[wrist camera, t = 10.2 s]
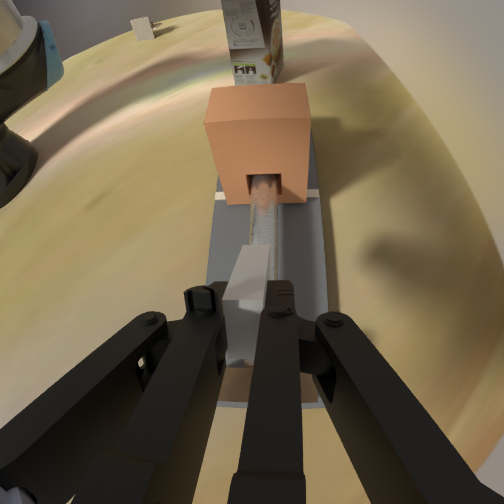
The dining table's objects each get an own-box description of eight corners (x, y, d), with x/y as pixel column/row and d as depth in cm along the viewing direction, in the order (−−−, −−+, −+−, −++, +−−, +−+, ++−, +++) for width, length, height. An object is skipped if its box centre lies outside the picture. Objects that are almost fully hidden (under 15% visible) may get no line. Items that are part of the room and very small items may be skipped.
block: (306, 202, 31) (310, 117, 21) (227, 204, 32) (203, 122, 22) (303, 166, 33) (304, 83, 23) (231, 168, 34) (212, 88, 24)
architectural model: (143, 37, 64) (136, 15, 58) (165, 34, 63) (158, 11, 56) (137, 42, 63) (129, 20, 56) (159, 39, 61) (151, 16, 55)
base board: (327, 407, 24) (329, 407, 22) (201, 404, 25) (196, 404, 23) (310, 134, 38) (310, 125, 37) (226, 137, 39) (224, 128, 38)
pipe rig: (311, 401, 23) (317, 402, 18) (214, 399, 24) (198, 399, 19) (299, 129, 37) (299, 98, 32) (235, 131, 37) (229, 101, 33)
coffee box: (273, 89, 44) (264, -2, 29) (234, 87, 45) (218, -1, 31) (284, 63, 47) (279, -16, 33) (250, 61, 49) (239, -15, 35)
